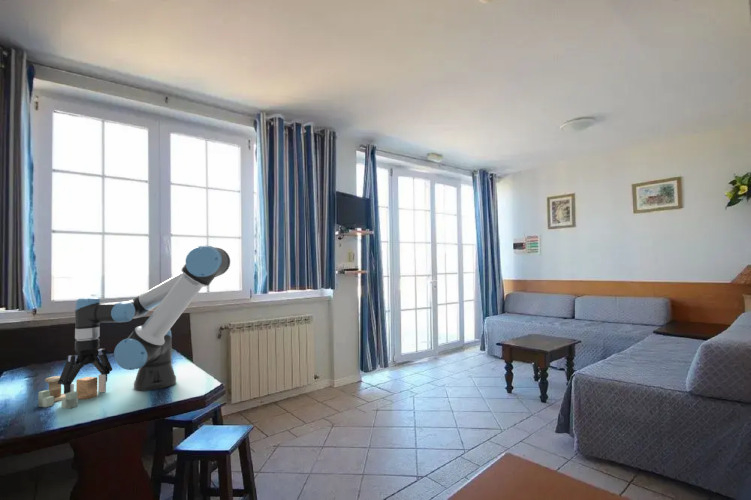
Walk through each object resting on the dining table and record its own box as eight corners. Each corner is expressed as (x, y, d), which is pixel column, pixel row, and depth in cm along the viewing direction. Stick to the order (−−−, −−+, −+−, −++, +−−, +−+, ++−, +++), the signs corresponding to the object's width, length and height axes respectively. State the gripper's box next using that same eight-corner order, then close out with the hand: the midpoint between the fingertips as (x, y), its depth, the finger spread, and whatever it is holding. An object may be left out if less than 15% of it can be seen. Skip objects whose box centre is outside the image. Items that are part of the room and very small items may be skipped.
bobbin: (71, 397, 148) (71, 375, 148) (52, 403, 141) (52, 380, 141) (56, 396, 149) (57, 374, 150) (37, 402, 143) (37, 379, 143)
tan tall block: (97, 396, 148) (97, 377, 149) (87, 399, 144) (87, 380, 145) (86, 395, 149) (86, 376, 150) (76, 398, 146) (76, 379, 146)
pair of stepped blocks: (77, 406, 137) (77, 391, 137) (70, 408, 135) (70, 393, 135) (45, 404, 140) (45, 389, 140) (38, 406, 138) (38, 392, 138)
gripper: (107, 333, 161) (107, 386, 160) (45, 344, 137) (44, 407, 136) (123, 333, 159) (122, 387, 158) (63, 345, 135) (61, 408, 134)
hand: (86, 396), depth 147 cm, fingers open, 12 cm apart
